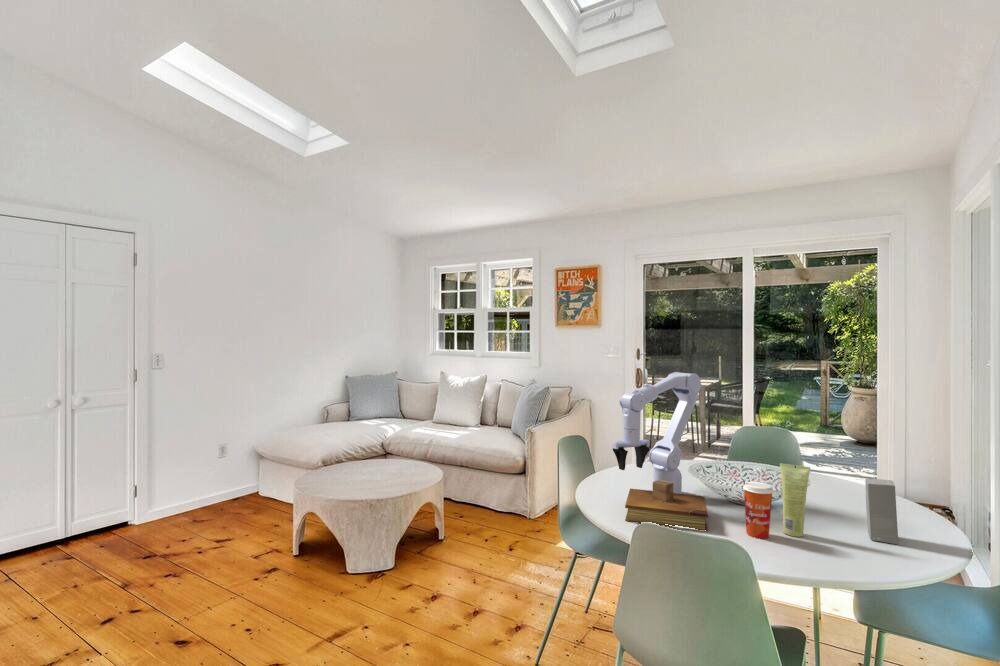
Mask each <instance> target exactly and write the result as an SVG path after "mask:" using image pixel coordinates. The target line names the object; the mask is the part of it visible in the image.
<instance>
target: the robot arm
mask: <svg viewBox="0 0 1000 666" xmlns="http://www.w3.org/2000/svg"><path fill="white" fill-rule="evenodd" d="M701 388H702V381H701V378H700V376H699V375H698V374H697V373H689V372H688V373H687V372H679V371H674V372H671V373H669V374H668V375H667V376H666V377H665V378H663V379H661V380H659V381H658V382H656V383H654V384H651V383H650V384H649V383H644V384H643V385H642V387H640V388H637V389H636V388H635V389H633V390H632V392H625V393H624V394H623V395H622V396H621V398H620V400H619V405H620V408H621V412H622V439H621V440H619V441H612V451H613V453H614V455H615V458H616V461H617V464H618V469H619V470H620V471H621V470H622V471H626V460H627V456H628V453H629V451H628V450H626V449H627V448H634V453H635V465H636V468H640V469H643V466H644V463H645V459H646V457H647V455H648V460H649V462H650V464H651V466H652V467H653V471H652V472H653V473H652V474H653V476H652V477H653V479H652V480H653V482H654V481H658V480H664V481H669V482H673V493H678V494H684V492H682V487H683V485H682V482H683V479H682V478H683V477H682V476H683V475H682V472H681V471H680V469H679V468H678V467H679V466H680V463H681V458H682V457H681V456H682V454H683V452H682V450H681V448H680V447H679V444H680V441H681V440H682V437H683V435H684V432H685V429H686V428H687V425H688V422H689V420H690V417H691V415H692V413H693V410H694V409H695V406H696V403H697V399H698V398H697V397H698V395H699V392H700V390H701ZM671 389H672V391H673V393H674V394H675V395H676V397H677V398H678V401H677V404H676V407H675V410H674V411H673V414H672V416H671V418H670V419H671V420H670V421H669V424H668V427H667V428H666V431H665V433H664V436H663V438H662V439H660V440H658V441H657V442H655V444H654V446H653V447H652V448H651V449H650V440H649V439H641V411H642V410H644V407H645V406H646V405H647V404H649V403H651V402H653V401H655V400H657V398H658V397H659V394H662V393H664V392H667V391H668V390H671ZM653 482H652V483H653ZM648 490H649V491H653V488H652V489H648Z"/></svg>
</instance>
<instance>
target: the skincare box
mask: <svg viewBox="0 0 1000 666" xmlns="http://www.w3.org/2000/svg"><path fill="white" fill-rule="evenodd" d="M864 481H865V506H866V507H865V508H866V521H867V533H868V536H869V540H871V541H875V542H881V543H886V544H887V543H888V544H893V545H896V546H897V545H898V546H899V531H898V513H897V495H896V485H895V483H894V482H893V480H891V479H879V478H869V477H865V480H864Z"/></svg>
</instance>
